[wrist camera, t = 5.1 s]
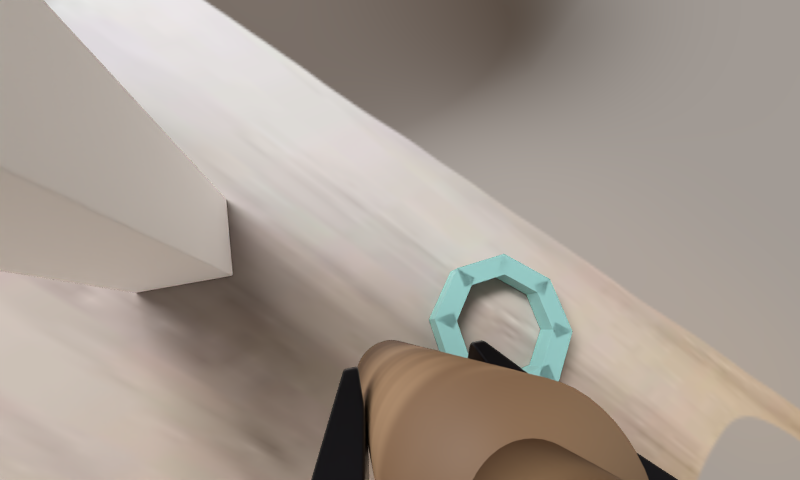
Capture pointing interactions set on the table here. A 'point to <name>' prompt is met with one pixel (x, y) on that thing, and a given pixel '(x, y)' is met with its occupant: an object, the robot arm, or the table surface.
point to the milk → (94, 171)
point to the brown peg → (483, 422)
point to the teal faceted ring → (524, 279)
